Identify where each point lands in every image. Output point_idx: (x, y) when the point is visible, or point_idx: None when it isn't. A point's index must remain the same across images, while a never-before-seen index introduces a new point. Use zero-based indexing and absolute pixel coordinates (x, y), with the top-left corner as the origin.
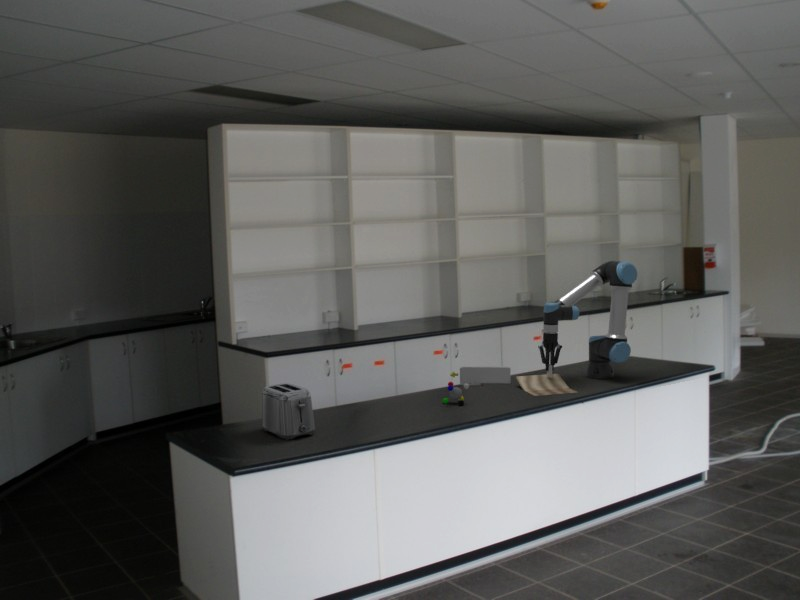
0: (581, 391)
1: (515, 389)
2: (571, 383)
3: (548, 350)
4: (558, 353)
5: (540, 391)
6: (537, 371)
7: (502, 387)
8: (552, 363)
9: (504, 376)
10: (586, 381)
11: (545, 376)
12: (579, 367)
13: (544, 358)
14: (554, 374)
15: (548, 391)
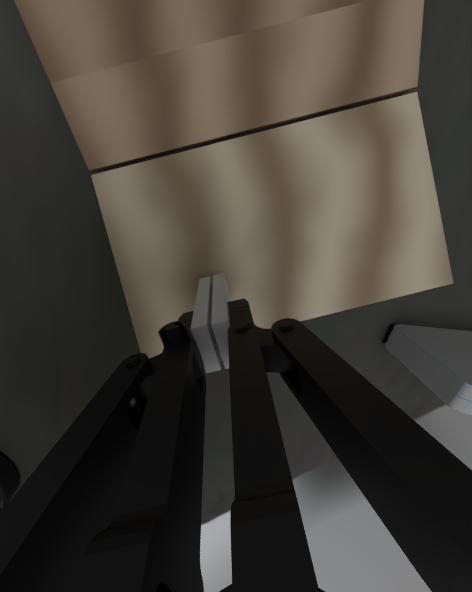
0: (5, 128)
1: None
2: (83, 356)
3: (298, 554)
4: (28, 504)
5: (320, 73)
6: (208, 518)
7: (442, 290)
8: (186, 343)
9: (453, 353)
10: (3, 392)
11: None
12: None
13: (318, 364)
14: None
15: (263, 61)
